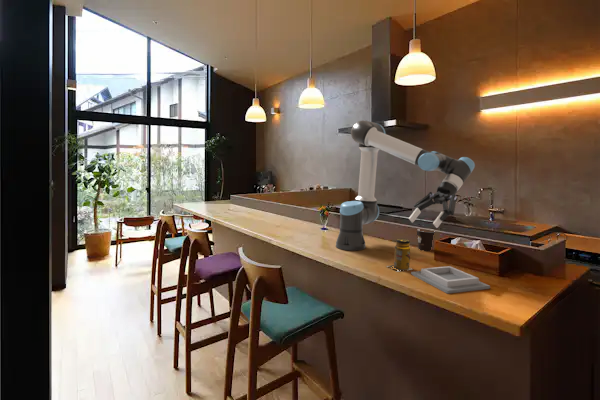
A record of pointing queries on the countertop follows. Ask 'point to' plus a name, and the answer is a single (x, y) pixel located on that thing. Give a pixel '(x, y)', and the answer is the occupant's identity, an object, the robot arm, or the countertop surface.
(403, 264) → the condiment
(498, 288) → the countertop surface
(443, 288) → the tray
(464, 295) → the countertop surface
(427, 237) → the coffee mug
